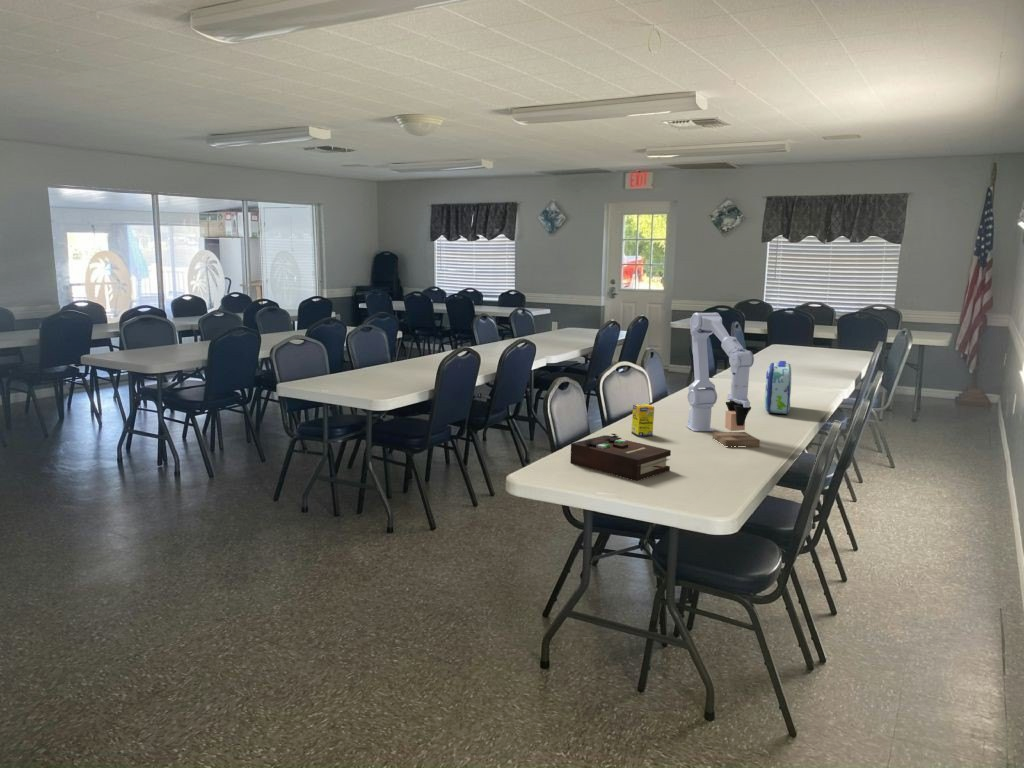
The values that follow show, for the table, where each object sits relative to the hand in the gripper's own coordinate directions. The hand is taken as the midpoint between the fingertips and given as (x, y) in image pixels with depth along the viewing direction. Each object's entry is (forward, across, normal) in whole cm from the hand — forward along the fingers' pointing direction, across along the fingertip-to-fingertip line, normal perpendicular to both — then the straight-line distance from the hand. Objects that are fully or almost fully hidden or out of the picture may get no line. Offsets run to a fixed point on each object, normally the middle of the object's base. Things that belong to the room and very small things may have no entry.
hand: (736, 423), depth 265 cm
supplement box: (+7, -13, -30) cm, 33 cm away
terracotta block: (+2, 0, -1) cm, 2 cm away
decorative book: (+8, +28, -49) cm, 57 cm away
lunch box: (+7, -56, +42) cm, 71 cm away
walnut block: (+7, 0, 0) cm, 7 cm away
